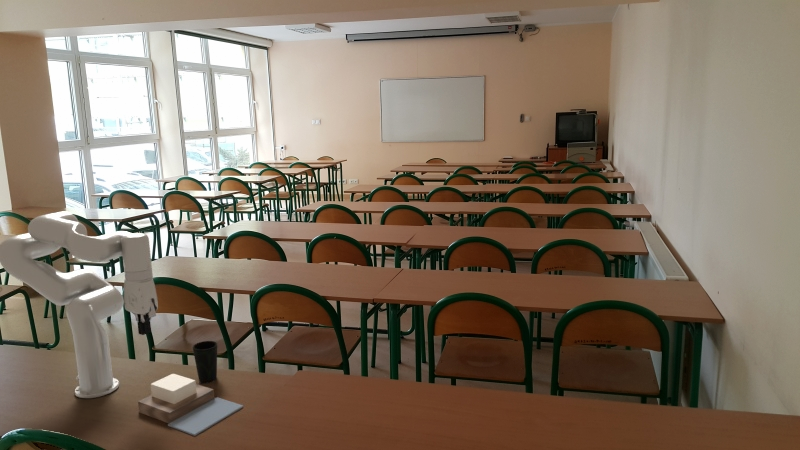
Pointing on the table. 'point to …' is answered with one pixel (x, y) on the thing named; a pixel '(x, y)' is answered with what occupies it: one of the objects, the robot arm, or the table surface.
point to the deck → (175, 405)
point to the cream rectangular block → (173, 388)
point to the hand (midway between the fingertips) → (145, 333)
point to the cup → (206, 361)
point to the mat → (205, 416)
